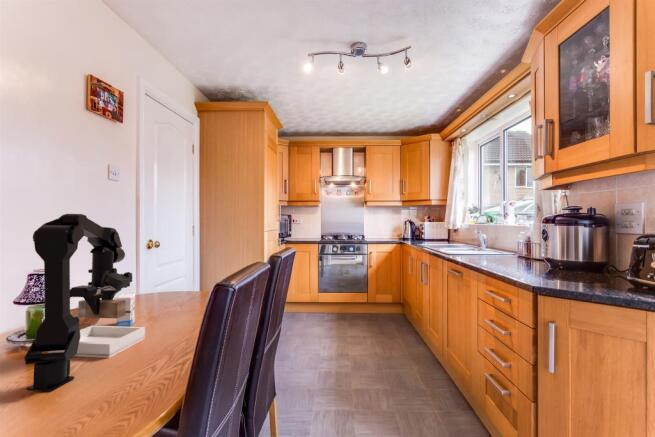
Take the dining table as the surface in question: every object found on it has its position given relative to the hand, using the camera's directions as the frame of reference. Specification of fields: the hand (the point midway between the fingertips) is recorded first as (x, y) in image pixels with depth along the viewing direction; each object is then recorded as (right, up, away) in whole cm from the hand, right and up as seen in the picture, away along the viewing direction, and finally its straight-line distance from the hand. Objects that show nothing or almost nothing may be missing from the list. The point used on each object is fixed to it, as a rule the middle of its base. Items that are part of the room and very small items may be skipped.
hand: (101, 313), depth 101 cm
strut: (0, -1, 0) cm, 1 cm away
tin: (-21, -12, +17) cm, 30 cm away
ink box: (-7, -12, +22) cm, 26 cm away
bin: (0, -11, 0) cm, 11 cm away
